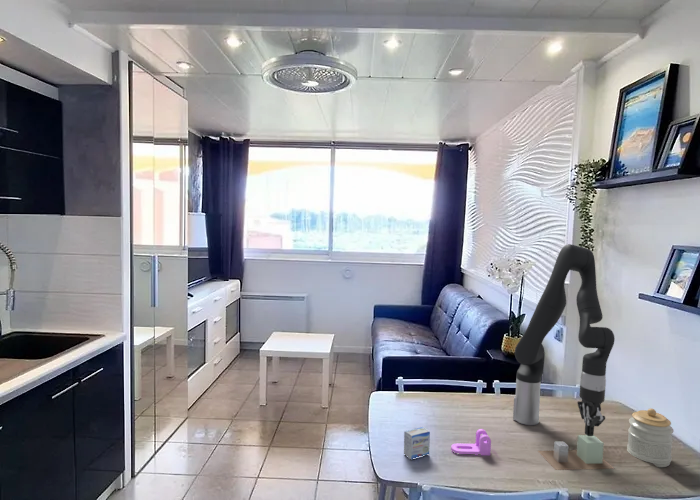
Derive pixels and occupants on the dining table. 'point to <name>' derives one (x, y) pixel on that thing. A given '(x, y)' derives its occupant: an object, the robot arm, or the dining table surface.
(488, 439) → the bracket
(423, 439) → the medicine box
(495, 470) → the dining table surface
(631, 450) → the jar
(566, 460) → the steel post
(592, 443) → the sage cap
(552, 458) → the walnut board
